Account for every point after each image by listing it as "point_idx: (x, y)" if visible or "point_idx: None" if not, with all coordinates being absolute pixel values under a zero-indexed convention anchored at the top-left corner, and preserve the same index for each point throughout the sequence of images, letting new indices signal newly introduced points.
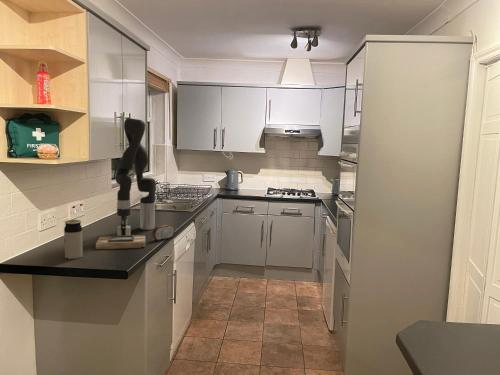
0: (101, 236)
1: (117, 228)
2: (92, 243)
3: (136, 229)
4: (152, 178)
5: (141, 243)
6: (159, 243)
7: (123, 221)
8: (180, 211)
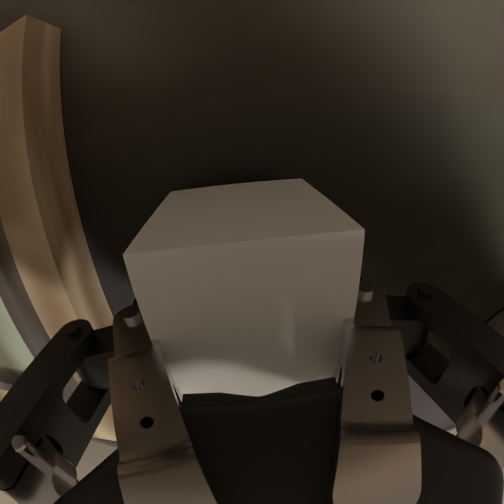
0: (24, 32)
1: (128, 251)
2: (19, 6)
3: (497, 293)
4: None
5: None
6: None
7: (7, 486)
8: None
